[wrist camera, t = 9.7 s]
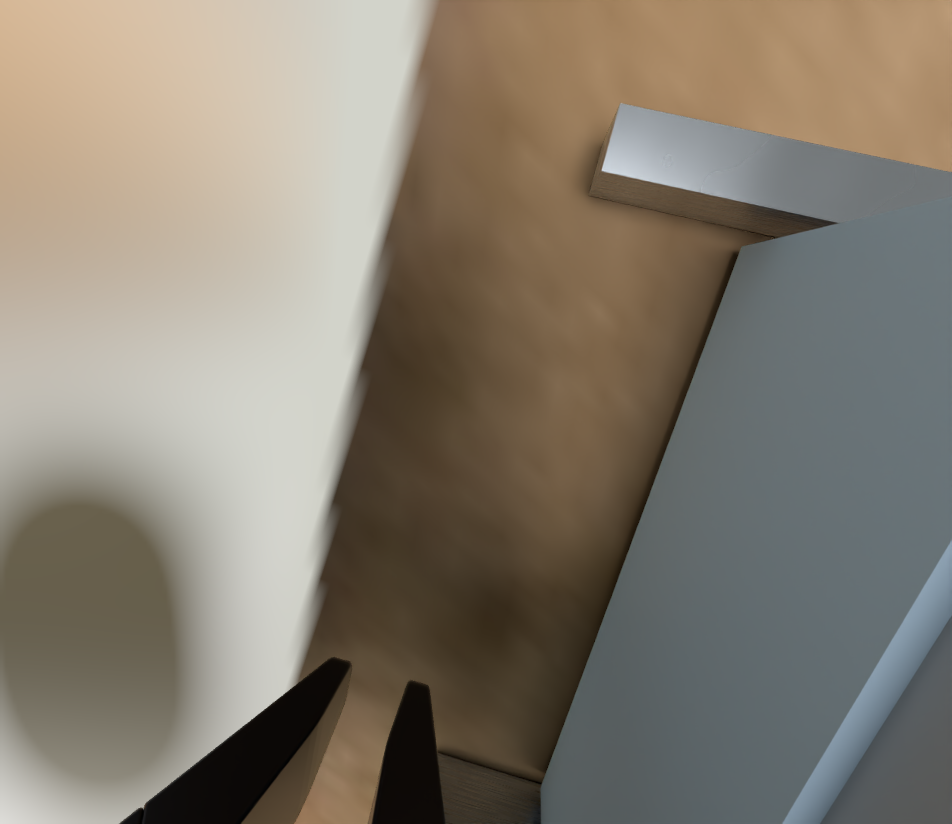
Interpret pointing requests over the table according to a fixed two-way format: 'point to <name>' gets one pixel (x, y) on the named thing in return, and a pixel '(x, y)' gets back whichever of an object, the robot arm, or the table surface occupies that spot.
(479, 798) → the grey rail base
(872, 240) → the bar
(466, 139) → the table surface
